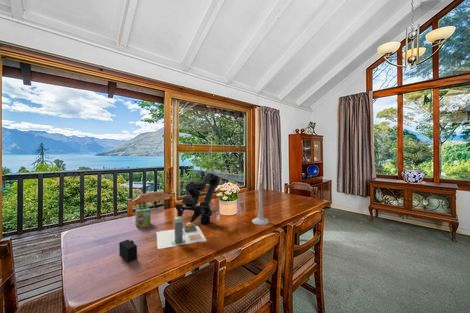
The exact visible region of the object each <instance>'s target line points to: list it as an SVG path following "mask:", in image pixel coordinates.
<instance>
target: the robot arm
mask: <svg viewBox="0 0 470 313" xmlns="http://www.w3.org/2000/svg"><path fill="white" fill-rule="evenodd" d="M220 183H221V177H220V176H218V175H216V174H215V173H212V172H211V173H209V172H208V173H206V175H205V176H204V177H202V179H201V180H198V181H195V182H194V181H190V182H189V183H187V184H186V185H185V186H184V189H185V190H186V192H187V193H188V195H189V197H183V198H182V200H181V201H182V202H181V203H176V204H175V205H174V208H175V209H176V211H177V217H183V214H184V212H185V211H193V214H192V217H191V219H190V222H191V223H193V222H194V221H195V220H196V219H197V218H199V223H200V224H201V225H211V224H212V223H211V216H213V211H212V209H211V208H212V207H211V202H212V199H213V196H214V192H215V189H216V188H217V187H218V186H219V184H220ZM208 184H209V185H208ZM207 185H208V189H207V191H206V194H205V197H204V199H203V201H201V202H200V203H199V202H198V201H199V199H200V198H201V197H202V193H201V192H204V191H205V189H206V188H207V187H206V186H207ZM183 204H184V205H183ZM198 204H199V205H198Z"/></svg>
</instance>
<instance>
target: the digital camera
mask: <svg viewBox="0 0 470 313" xmlns="http://www.w3.org/2000/svg"><path fill="white" fill-rule="evenodd" d="M118 244H119V245H118V246H119V251H118V252H119V253H118V256H119V257H121V259H123V260H124V262H126V263H127V264H129V263H131V262H134V261H136V259H137V260H138V245H137V244H135V241H134V240H129V239H126V240H122V241H120V242H119V243H118Z"/></svg>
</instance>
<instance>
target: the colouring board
mask: <svg viewBox="0 0 470 313" xmlns="http://www.w3.org/2000/svg"><path fill="white" fill-rule="evenodd" d="M195 227H196V231H190V232H185V231H184V229H183V242H182V243H180V244H176V243H175V228H174V229H168V230H160V231H156V243H157V244H156V246H157V250H160V249H166V248H171V247H178V246H182V245H187V244H194V243H198V242H199V243H204V242H207V238H206V236H205V235H204V233H203V232H202V230H201V228H200V227H199V226H198V225H195Z"/></svg>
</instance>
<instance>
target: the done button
mask: <svg viewBox="0 0 470 313" xmlns="http://www.w3.org/2000/svg"><path fill="white" fill-rule="evenodd" d="M193 224H194V223H193V222H192V223H191V221H190V222H186V223H185V225H186V228H193Z"/></svg>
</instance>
